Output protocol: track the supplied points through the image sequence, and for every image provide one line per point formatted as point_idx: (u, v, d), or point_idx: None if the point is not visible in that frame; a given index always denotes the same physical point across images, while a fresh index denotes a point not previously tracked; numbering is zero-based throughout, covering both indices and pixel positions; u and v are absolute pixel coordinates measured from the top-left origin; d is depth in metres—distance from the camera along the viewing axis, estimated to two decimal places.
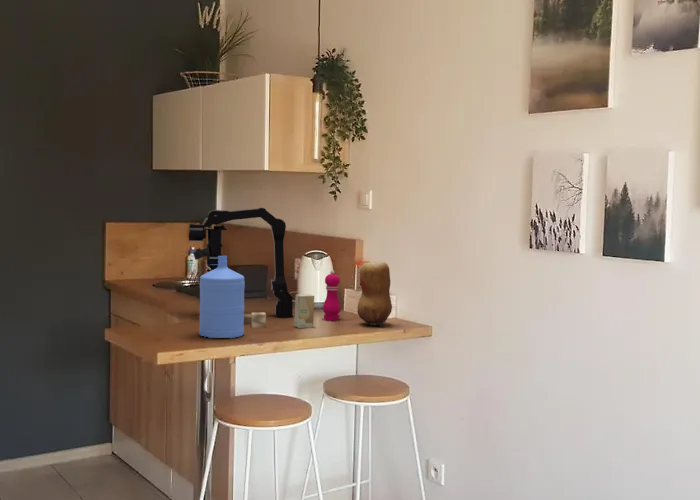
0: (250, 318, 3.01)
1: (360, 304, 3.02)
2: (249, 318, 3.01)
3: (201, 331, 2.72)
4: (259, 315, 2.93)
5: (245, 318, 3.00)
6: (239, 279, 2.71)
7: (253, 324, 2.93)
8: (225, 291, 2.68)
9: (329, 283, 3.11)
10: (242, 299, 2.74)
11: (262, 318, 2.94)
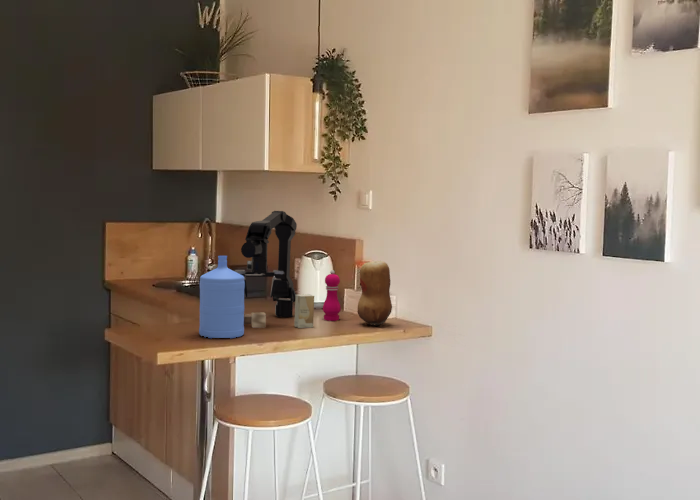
0: (250, 318, 3.01)
1: (360, 304, 3.02)
2: (249, 318, 3.01)
3: (201, 331, 2.72)
4: (259, 315, 2.93)
5: (245, 318, 3.00)
6: (239, 279, 2.71)
7: (253, 324, 2.93)
8: (225, 291, 2.68)
9: (329, 283, 3.11)
10: (242, 299, 2.74)
11: (262, 317, 2.94)
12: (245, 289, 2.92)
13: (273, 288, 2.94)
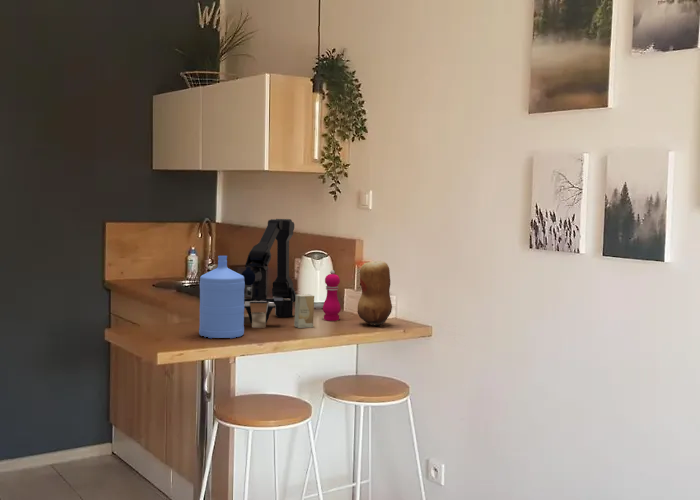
0: None
1: (360, 304, 3.02)
2: None
3: (201, 331, 2.72)
4: (259, 315, 2.93)
5: (245, 318, 3.00)
6: (239, 279, 2.71)
7: (253, 324, 2.93)
8: (225, 291, 2.68)
9: (329, 283, 3.11)
10: (242, 299, 2.74)
11: (262, 317, 2.94)
12: (250, 316, 2.94)
13: (267, 315, 2.94)
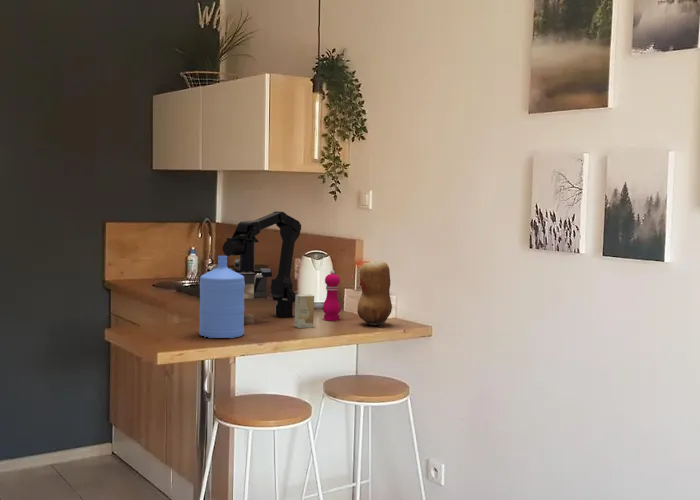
0: (251, 318, 3.01)
1: (360, 304, 3.02)
2: (250, 318, 3.01)
3: (201, 331, 2.72)
4: (247, 286, 2.99)
5: (246, 318, 3.00)
6: (239, 279, 2.71)
7: None
8: (225, 291, 2.68)
9: (329, 283, 3.11)
10: (242, 299, 2.74)
11: (250, 289, 3.00)
12: None
13: (255, 286, 3.01)
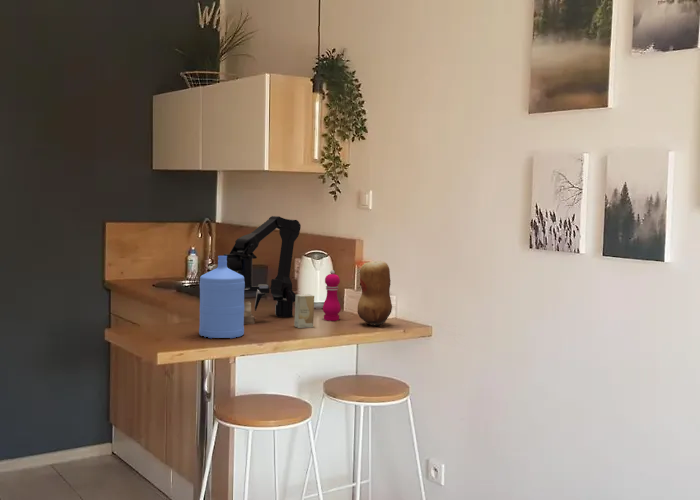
0: (251, 318, 3.01)
1: (360, 304, 3.02)
2: (250, 318, 3.01)
3: (201, 331, 2.72)
4: (244, 304, 3.01)
5: (246, 318, 3.01)
6: (239, 279, 2.71)
7: None
8: (225, 291, 2.68)
9: (329, 283, 3.11)
10: (242, 299, 2.74)
11: (247, 307, 3.01)
12: None
13: (257, 302, 3.02)
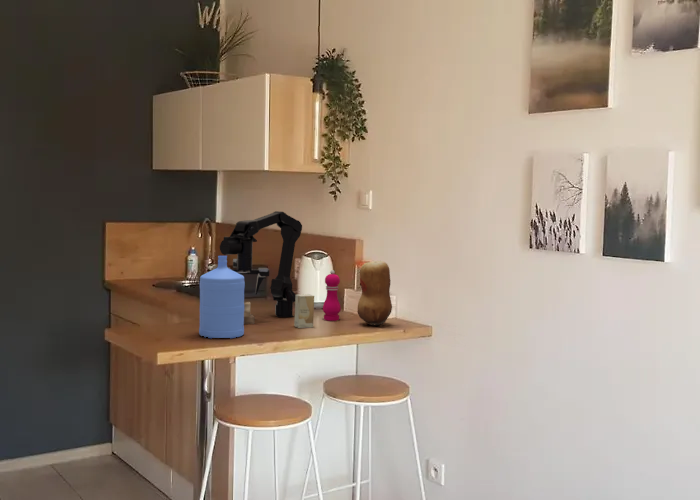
0: (251, 318, 3.01)
1: (360, 304, 3.02)
2: (250, 318, 3.01)
3: (201, 331, 2.72)
4: (244, 304, 3.01)
5: (246, 318, 3.01)
6: (239, 279, 2.71)
7: None
8: (225, 291, 2.68)
9: (329, 283, 3.11)
10: (242, 299, 2.74)
11: (247, 307, 3.01)
12: None
13: (258, 285, 3.02)
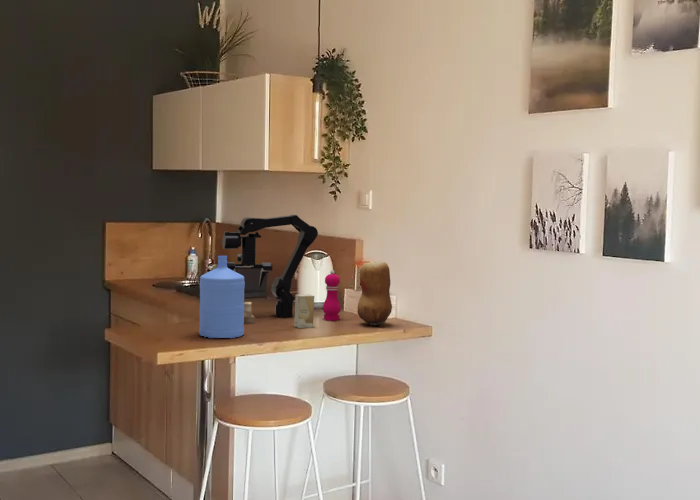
0: (251, 318, 3.01)
1: (360, 304, 3.02)
2: (250, 318, 3.01)
3: (201, 331, 2.72)
4: (245, 304, 3.01)
5: (246, 318, 3.01)
6: (239, 279, 2.71)
7: None
8: (225, 291, 2.68)
9: (329, 283, 3.11)
10: (242, 299, 2.74)
11: (248, 307, 3.01)
12: None
13: (261, 279, 3.13)
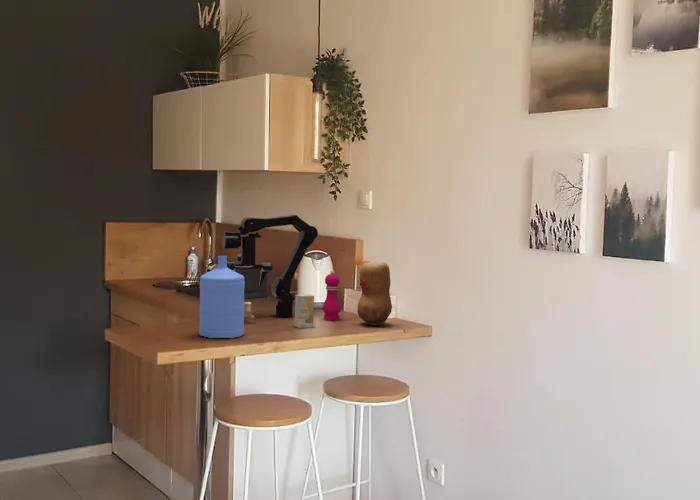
0: (251, 318, 3.01)
1: (360, 304, 3.02)
2: (250, 318, 3.01)
3: (201, 331, 2.72)
4: (244, 304, 3.01)
5: (246, 318, 3.01)
6: (239, 279, 2.71)
7: None
8: (225, 291, 2.68)
9: (329, 283, 3.11)
10: (242, 299, 2.74)
11: (247, 307, 3.01)
12: None
13: (261, 279, 3.13)
